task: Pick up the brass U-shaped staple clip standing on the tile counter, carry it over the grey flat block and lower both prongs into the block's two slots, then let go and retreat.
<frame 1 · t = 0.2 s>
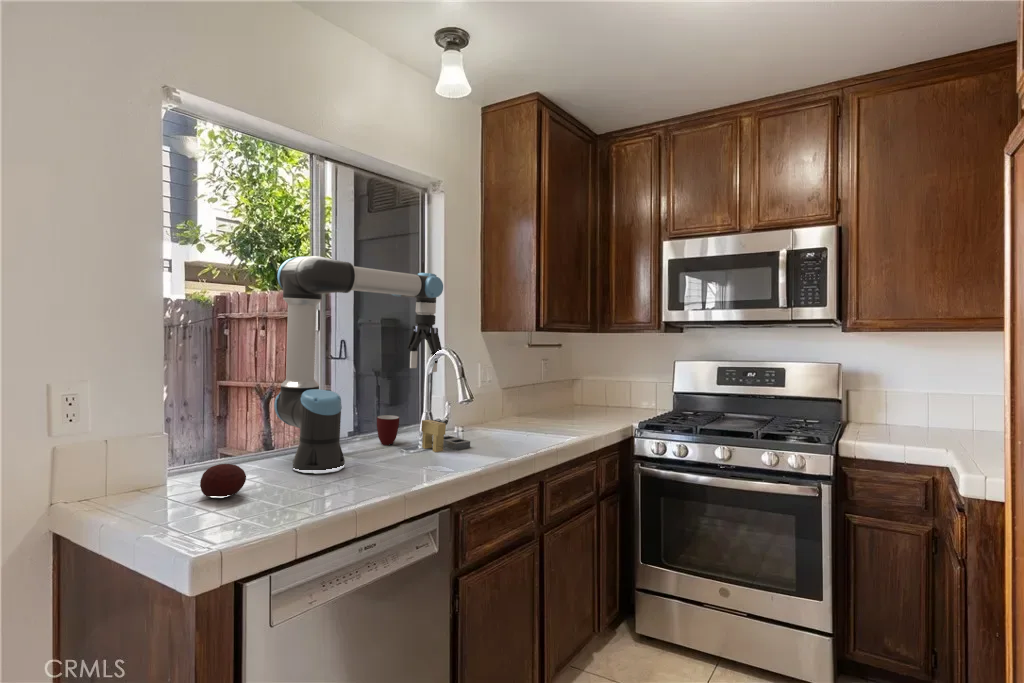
hand: (423, 369, 221), 27 cm above the worktop, fingers open, 13 cm apart
clip: (432, 449, 209), on the worktop
potato: (222, 497, 147), on the worktop
mug: (386, 443, 215), on the worktop
grey flat block: (452, 446, 216), on the worktop
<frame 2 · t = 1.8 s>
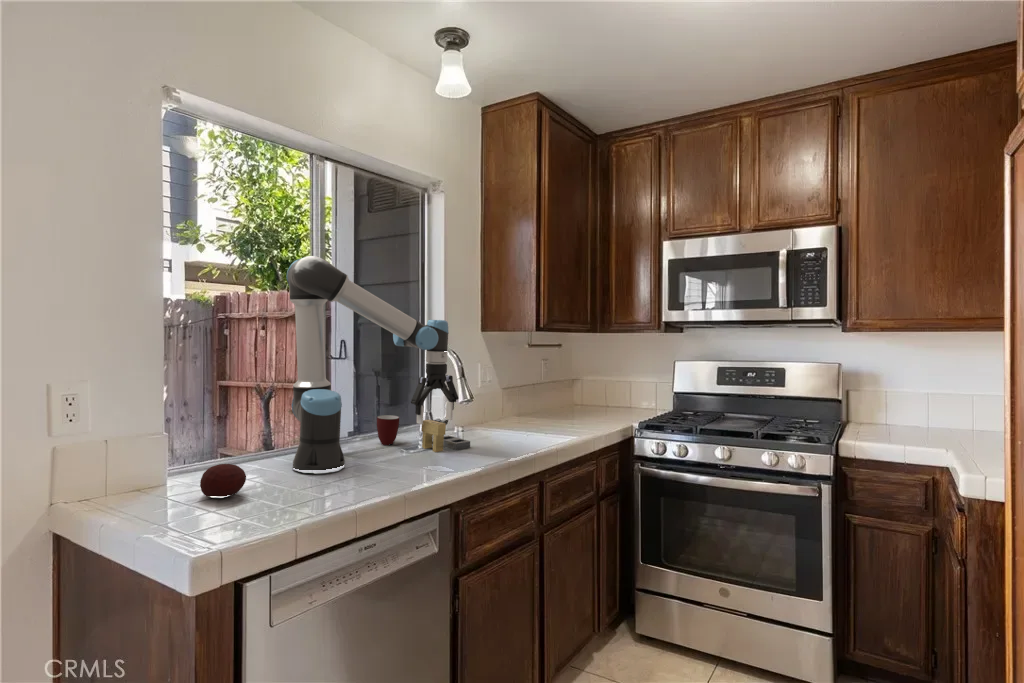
hand: (434, 421, 209), 10 cm above the worktop, fingers open, 13 cm apart
nothing on the worktop moved.
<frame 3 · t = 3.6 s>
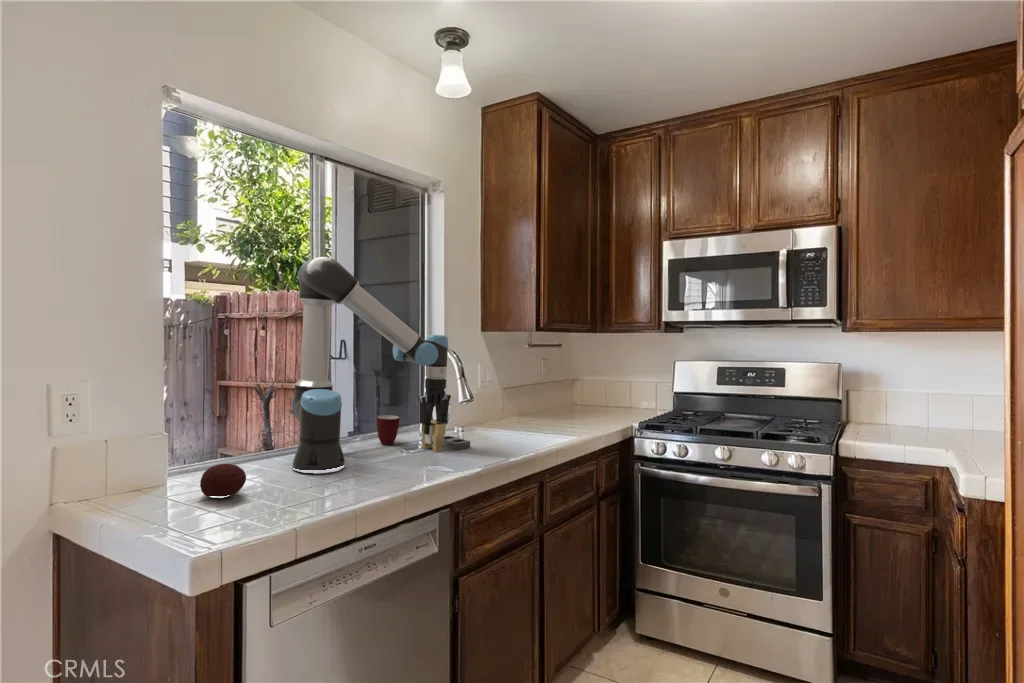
hand: (432, 442, 209), 3 cm above the worktop, fingers closed on clip, 3 cm apart
clip: (432, 449, 209), on the worktop, touching gripper
everything else where it was.
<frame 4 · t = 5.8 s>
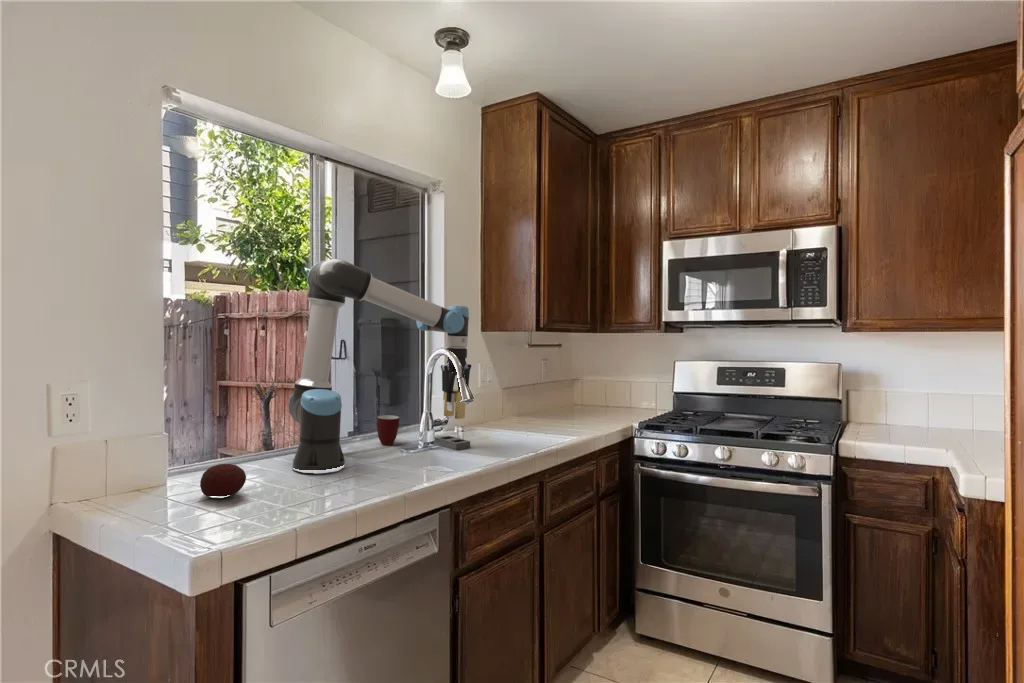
hand: (454, 410, 216), 14 cm above the worktop, fingers closed on clip, 3 cm apart
clip: (454, 416, 216), point 11 cm above the worktop, touching gripper
everything else where it was.
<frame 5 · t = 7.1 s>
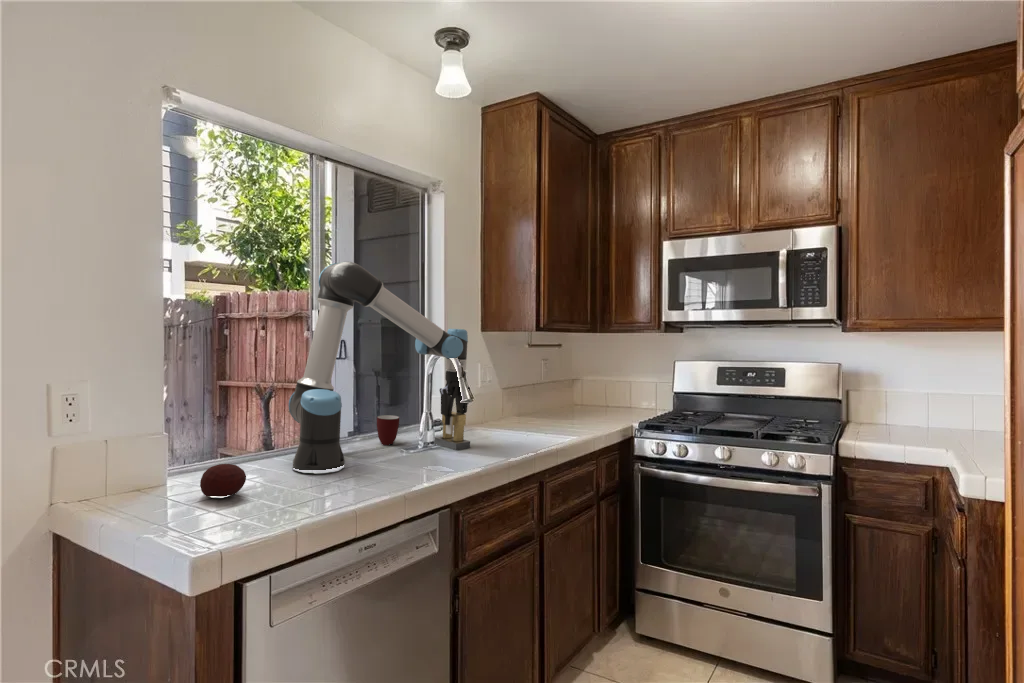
hand: (453, 432, 216), 5 cm above the worktop, fingers closed on clip, 3 cm apart
clip: (452, 439, 216), point 2 cm above the worktop, touching gripper
everything else where it was.
when the fingers open (4 cm above the worktop, at t = 7.9 s): clip stays where it is, resting in grey flat block.
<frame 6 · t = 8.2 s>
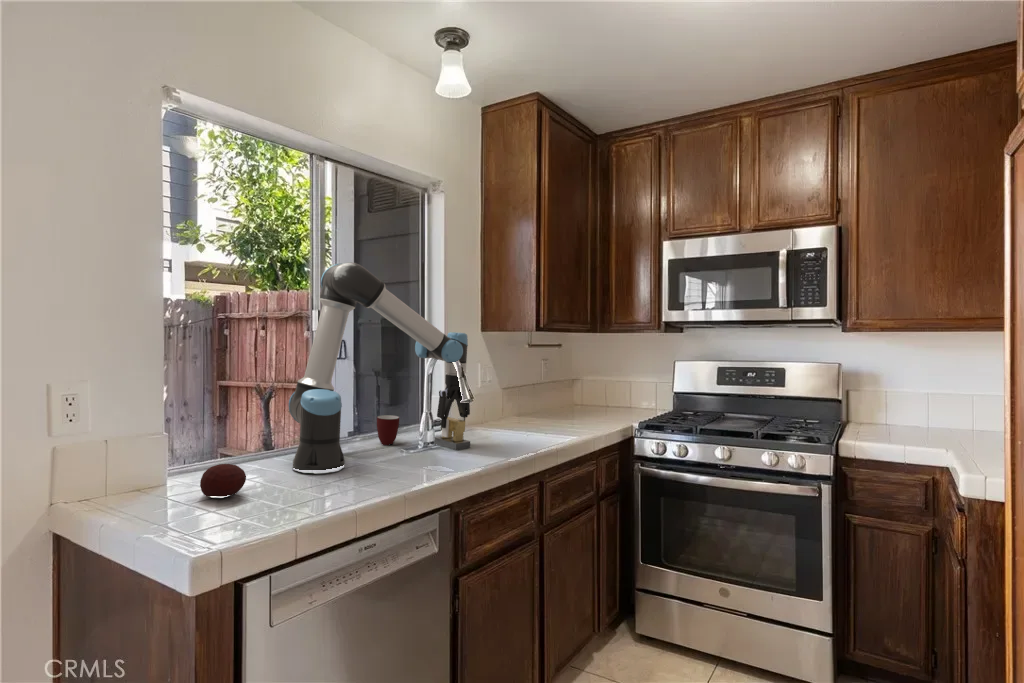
hand: (452, 435, 216), 4 cm above the worktop, fingers open, 7 cm apart
clip: (452, 446, 216), resting in grey flat block
everything else where it was.
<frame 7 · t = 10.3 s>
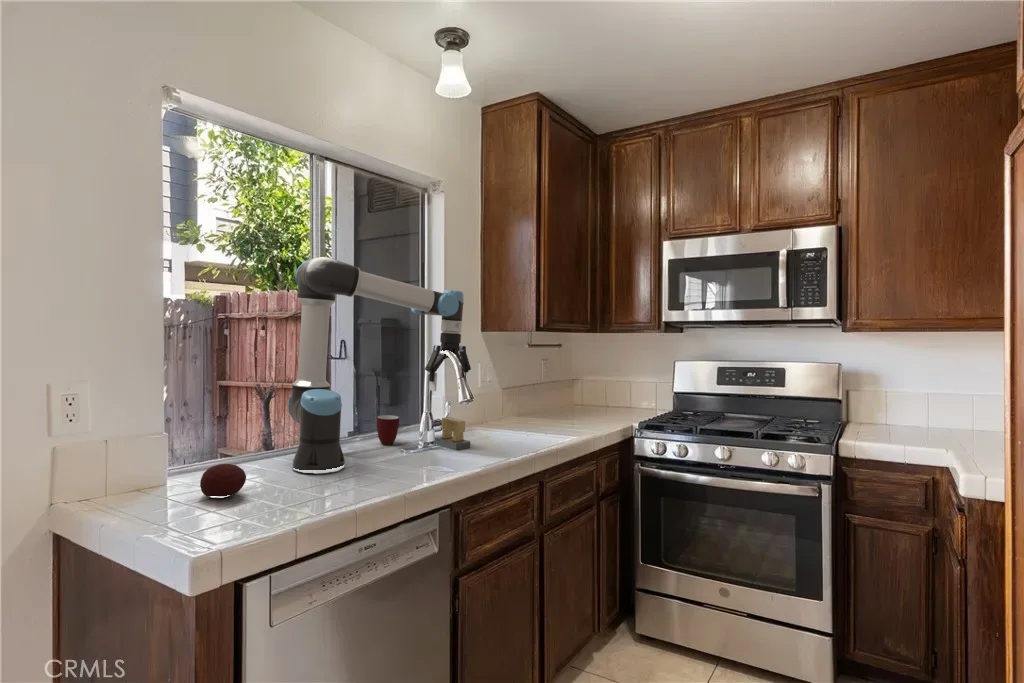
hand: (447, 389, 214), 21 cm above the worktop, fingers open, 13 cm apart
nothing on the worktop moved.
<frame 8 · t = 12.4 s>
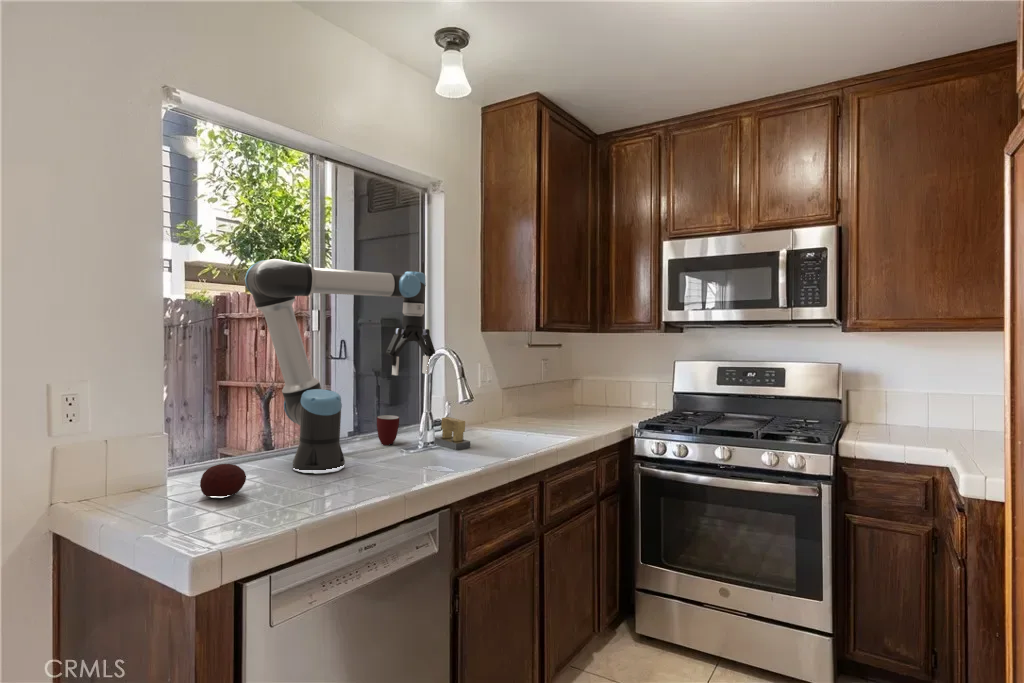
hand: (410, 374, 208), 27 cm above the worktop, fingers open, 13 cm apart
nothing on the worktop moved.
at the end: clip 0.0 cm off-centre on the grey flat block, point 0.0 cm above the grey flat block's base; clip tilted 0°; the gripper is holding nothing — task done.
